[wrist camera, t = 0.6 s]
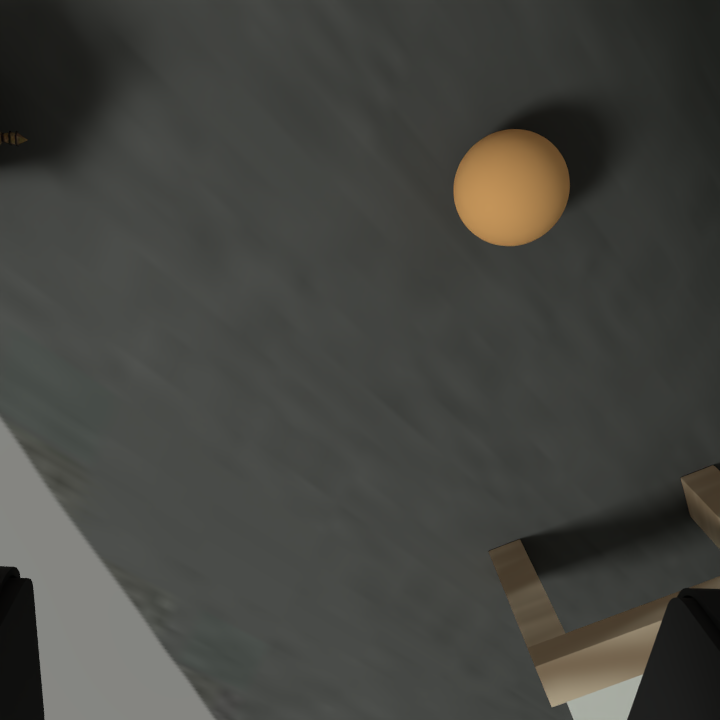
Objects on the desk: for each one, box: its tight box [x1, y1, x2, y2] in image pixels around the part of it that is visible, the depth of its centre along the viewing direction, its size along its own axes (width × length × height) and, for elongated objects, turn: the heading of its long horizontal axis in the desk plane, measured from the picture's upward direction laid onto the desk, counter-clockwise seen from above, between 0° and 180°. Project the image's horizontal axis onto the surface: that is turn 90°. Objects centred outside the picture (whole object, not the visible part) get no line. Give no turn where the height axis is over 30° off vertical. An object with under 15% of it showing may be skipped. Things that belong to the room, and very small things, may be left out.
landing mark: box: [567, 674, 643, 720], centre depth 46 cm, size 12×12×1 cm
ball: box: [454, 129, 570, 246], centre depth 30 cm, size 5×5×5 cm
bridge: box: [489, 465, 720, 707], centre depth 37 cm, size 3×14×9 cm, turn 112°
